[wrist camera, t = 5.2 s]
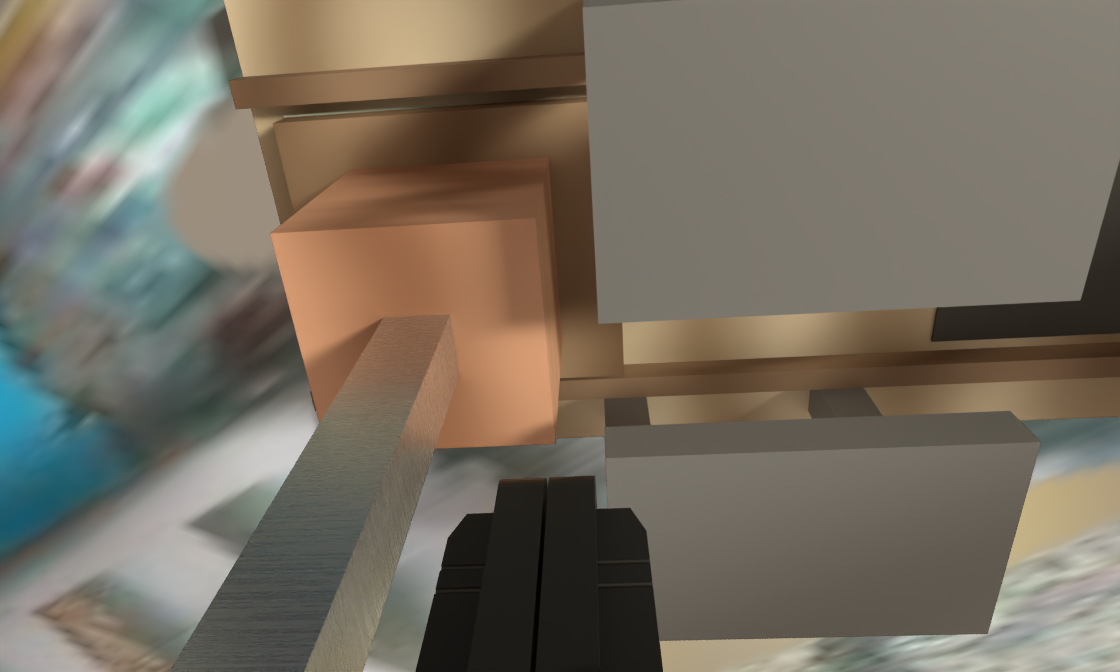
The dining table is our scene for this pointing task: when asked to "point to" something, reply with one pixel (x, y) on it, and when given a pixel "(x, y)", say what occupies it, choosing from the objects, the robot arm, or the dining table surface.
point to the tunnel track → (794, 268)
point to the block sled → (409, 349)
